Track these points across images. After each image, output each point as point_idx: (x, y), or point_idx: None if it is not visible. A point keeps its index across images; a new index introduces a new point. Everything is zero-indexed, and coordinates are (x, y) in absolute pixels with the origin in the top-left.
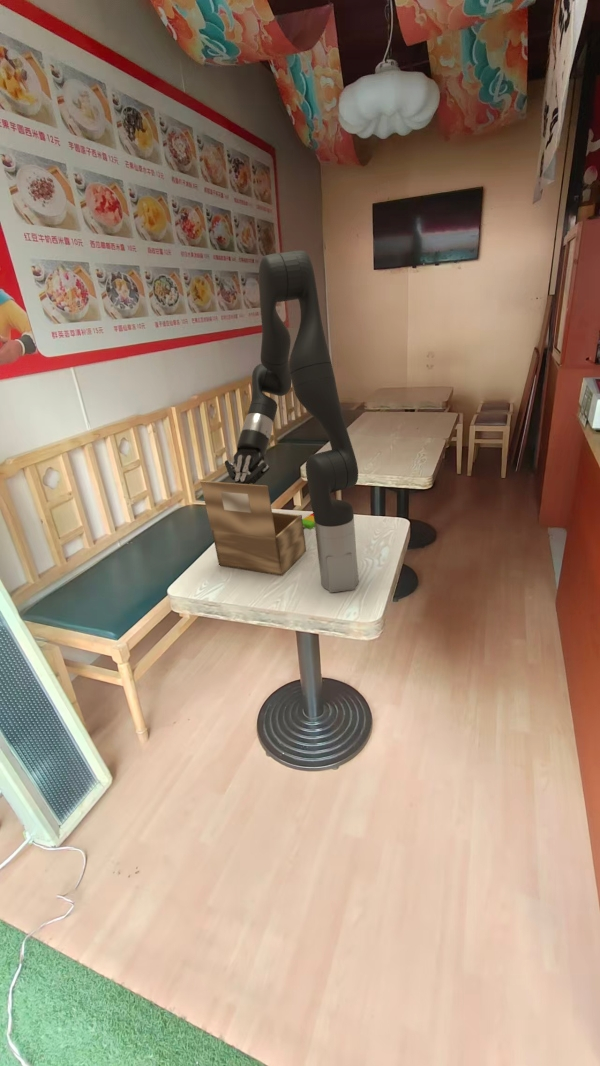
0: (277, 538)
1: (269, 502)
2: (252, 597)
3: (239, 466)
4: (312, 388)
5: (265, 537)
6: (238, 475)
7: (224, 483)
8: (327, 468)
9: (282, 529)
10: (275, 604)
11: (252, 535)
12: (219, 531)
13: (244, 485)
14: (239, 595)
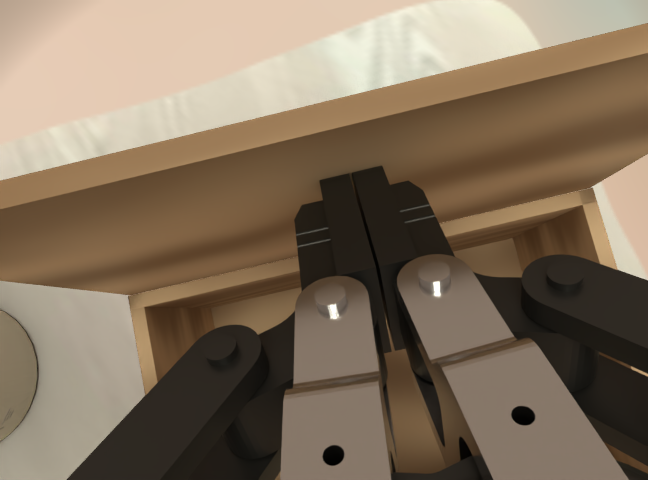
0: (132, 302)
1: None
2: (202, 125)
3: (510, 438)
4: None
5: (205, 279)
6: (443, 322)
7: (478, 65)
8: None
9: None
10: (97, 135)
11: (292, 259)
12: (530, 202)
13: (144, 149)
14: (256, 109)
